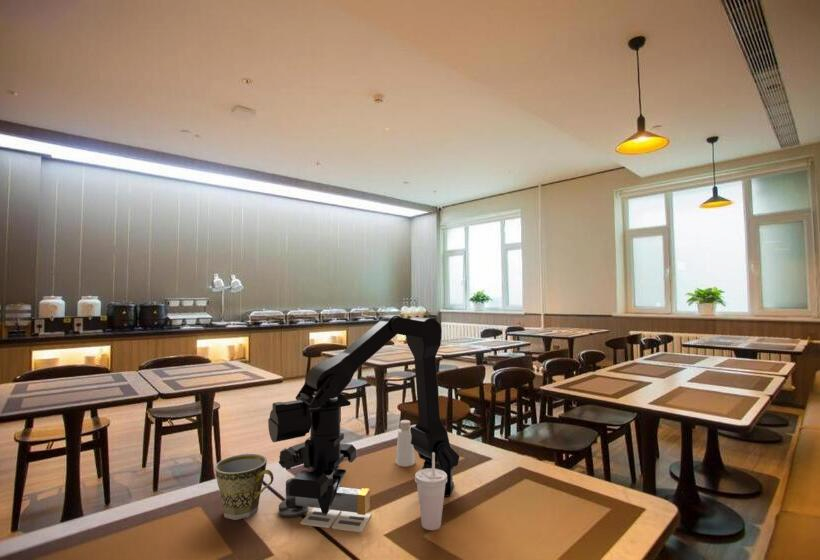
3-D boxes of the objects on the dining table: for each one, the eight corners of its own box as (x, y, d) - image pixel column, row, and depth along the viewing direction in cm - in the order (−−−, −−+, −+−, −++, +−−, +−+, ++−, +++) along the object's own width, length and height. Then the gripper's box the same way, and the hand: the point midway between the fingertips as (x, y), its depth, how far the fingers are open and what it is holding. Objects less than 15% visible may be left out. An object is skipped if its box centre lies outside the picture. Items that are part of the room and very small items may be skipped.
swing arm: (282, 505, 86) (282, 483, 86) (290, 498, 89) (290, 477, 89) (364, 516, 82) (364, 492, 82) (369, 508, 85) (369, 485, 85)
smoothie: (437, 538, 77) (437, 461, 77) (408, 527, 80) (408, 454, 81) (453, 521, 82) (452, 450, 83) (425, 512, 86) (424, 444, 86)
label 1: (341, 512, 86) (341, 509, 86) (329, 528, 80) (329, 525, 80) (314, 508, 87) (314, 506, 87) (300, 524, 82) (300, 521, 82)
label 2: (371, 515, 85) (371, 513, 85) (361, 532, 79) (361, 529, 79) (343, 512, 86) (343, 510, 86) (331, 528, 80) (331, 525, 80)
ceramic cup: (203, 519, 83) (203, 468, 84) (239, 496, 93) (239, 451, 93) (255, 532, 79) (255, 478, 79) (287, 506, 88) (288, 459, 89)
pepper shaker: (415, 466, 108) (415, 424, 109) (394, 466, 109) (394, 424, 109) (415, 458, 114) (415, 418, 114) (395, 458, 114) (395, 418, 114)
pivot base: (313, 504, 89) (313, 499, 89) (299, 519, 83) (299, 513, 83) (287, 501, 90) (287, 496, 90) (272, 516, 85) (272, 510, 85)
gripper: (309, 414, 92) (309, 486, 91) (260, 445, 74) (260, 534, 73) (357, 417, 89) (357, 491, 89) (319, 450, 71) (319, 543, 71)
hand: (325, 512), depth 80 cm, fingers closed
